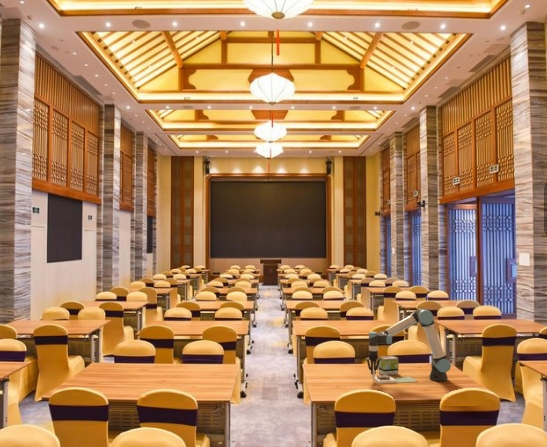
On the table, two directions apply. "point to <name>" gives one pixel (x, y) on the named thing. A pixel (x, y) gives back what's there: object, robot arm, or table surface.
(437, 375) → the robot arm
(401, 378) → the mat
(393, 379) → the stand
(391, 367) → the tea box
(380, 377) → the name block
